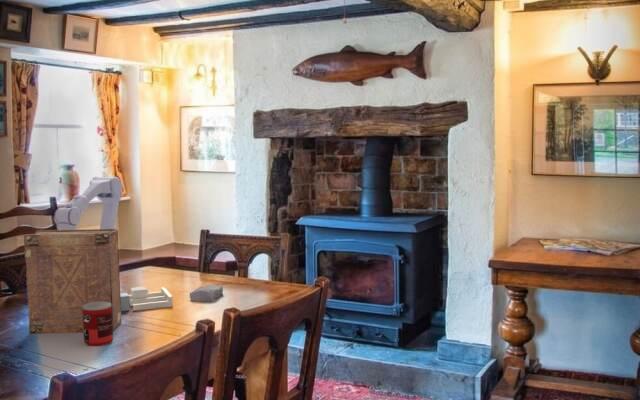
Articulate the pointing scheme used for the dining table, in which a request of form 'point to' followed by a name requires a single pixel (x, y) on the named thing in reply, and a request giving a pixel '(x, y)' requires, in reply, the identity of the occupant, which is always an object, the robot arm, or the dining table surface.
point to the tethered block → (124, 301)
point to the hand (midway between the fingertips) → (70, 282)
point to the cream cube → (139, 293)
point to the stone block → (206, 293)
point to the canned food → (97, 323)
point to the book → (70, 277)
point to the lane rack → (153, 301)
